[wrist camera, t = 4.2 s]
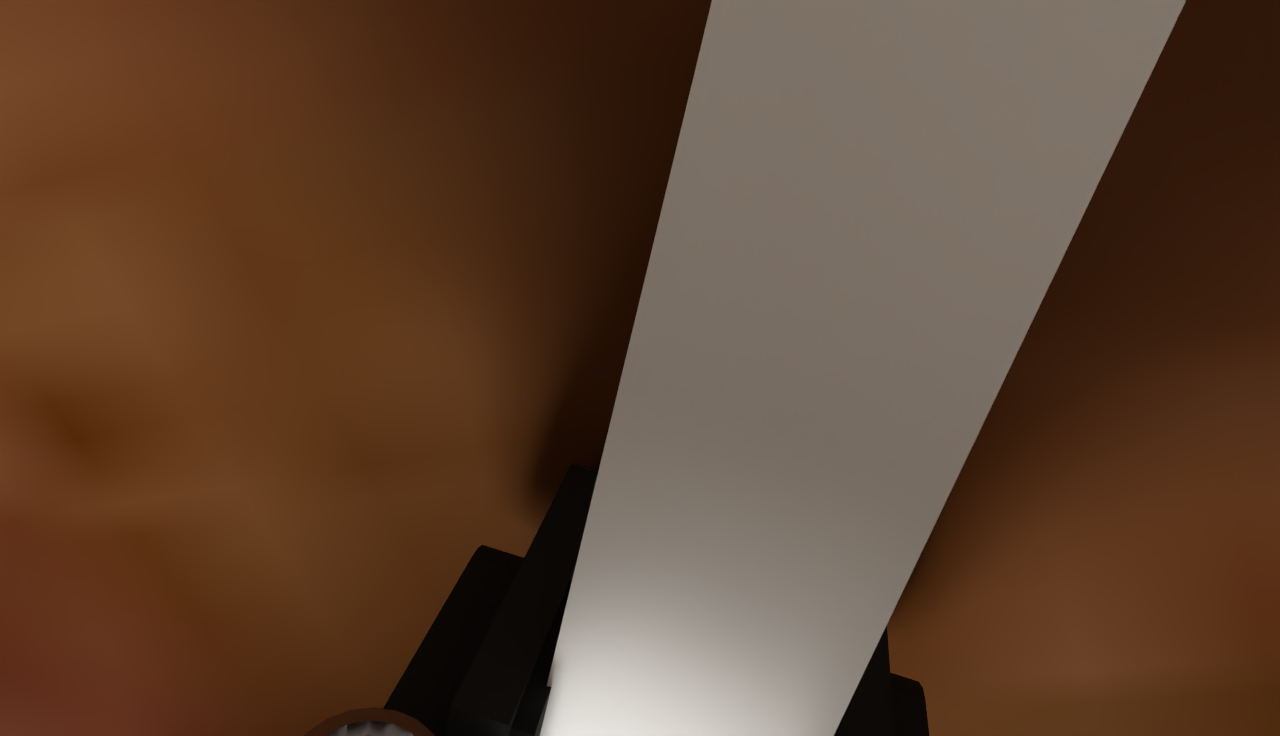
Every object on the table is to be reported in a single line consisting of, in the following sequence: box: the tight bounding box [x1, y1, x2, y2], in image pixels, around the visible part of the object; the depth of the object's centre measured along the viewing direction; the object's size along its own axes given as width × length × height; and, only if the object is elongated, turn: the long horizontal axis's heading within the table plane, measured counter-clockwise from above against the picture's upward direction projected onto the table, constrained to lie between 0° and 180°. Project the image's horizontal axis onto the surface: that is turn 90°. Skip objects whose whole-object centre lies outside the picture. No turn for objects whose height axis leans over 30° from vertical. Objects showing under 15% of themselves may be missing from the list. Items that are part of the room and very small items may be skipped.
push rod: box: [540, 0, 1186, 736], centre depth 7 cm, size 15×2×4 cm, turn 168°
